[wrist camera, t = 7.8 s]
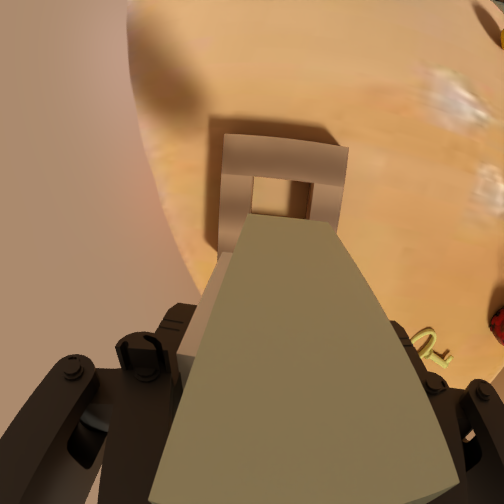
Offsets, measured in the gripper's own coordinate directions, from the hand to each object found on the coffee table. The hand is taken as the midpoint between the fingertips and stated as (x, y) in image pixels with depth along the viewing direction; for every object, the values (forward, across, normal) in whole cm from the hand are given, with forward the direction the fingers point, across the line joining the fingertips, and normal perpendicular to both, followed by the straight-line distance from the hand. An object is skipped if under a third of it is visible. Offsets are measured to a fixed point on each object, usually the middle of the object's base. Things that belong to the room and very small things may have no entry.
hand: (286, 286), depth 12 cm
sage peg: (+4, 0, 0) cm, 4 cm away
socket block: (+18, 0, 0) cm, 18 cm away
